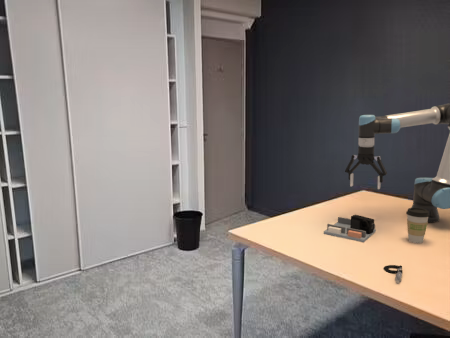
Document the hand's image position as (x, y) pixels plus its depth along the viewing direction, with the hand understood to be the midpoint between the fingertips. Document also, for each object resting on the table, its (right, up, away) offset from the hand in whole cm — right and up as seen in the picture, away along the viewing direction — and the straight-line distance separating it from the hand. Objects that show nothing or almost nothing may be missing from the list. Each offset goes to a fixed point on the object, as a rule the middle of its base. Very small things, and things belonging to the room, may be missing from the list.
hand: (365, 187), depth 197 cm
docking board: (-9, -23, -3) cm, 24 cm away
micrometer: (-7, -32, -48) cm, 58 cm away
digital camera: (-4, -22, -4) cm, 23 cm away
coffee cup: (+18, -25, -15) cm, 34 cm away
